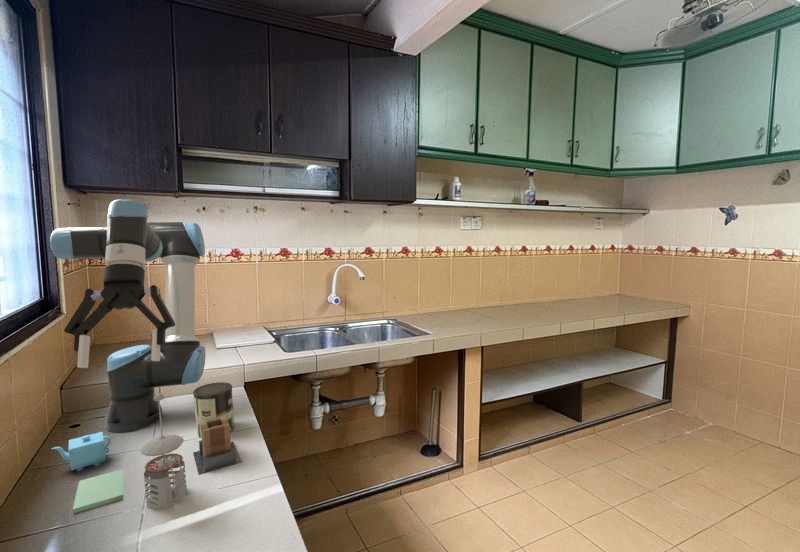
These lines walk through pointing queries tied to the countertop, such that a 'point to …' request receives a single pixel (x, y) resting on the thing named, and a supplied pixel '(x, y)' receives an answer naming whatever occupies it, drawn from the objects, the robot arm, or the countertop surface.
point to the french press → (164, 468)
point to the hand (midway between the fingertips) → (119, 364)
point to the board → (99, 490)
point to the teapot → (85, 451)
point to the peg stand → (216, 459)
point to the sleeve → (215, 436)
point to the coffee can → (213, 404)
